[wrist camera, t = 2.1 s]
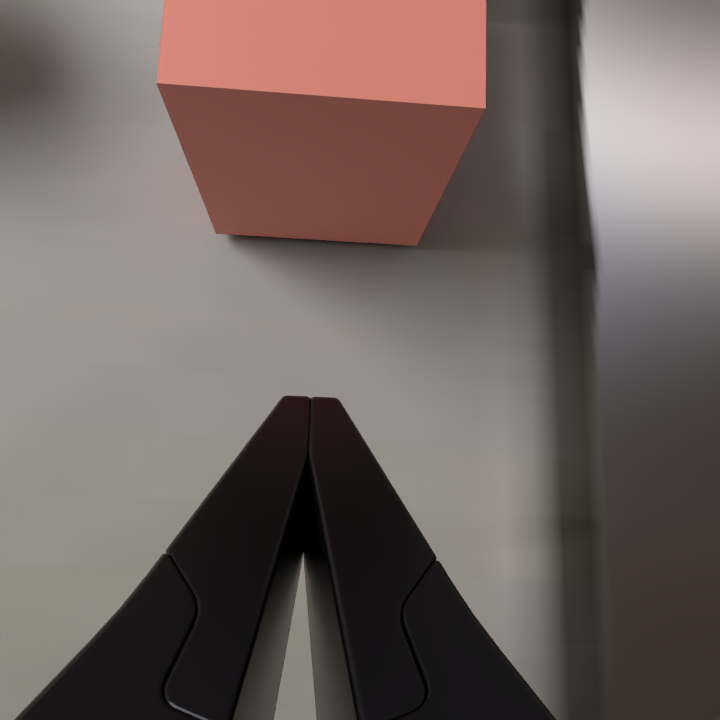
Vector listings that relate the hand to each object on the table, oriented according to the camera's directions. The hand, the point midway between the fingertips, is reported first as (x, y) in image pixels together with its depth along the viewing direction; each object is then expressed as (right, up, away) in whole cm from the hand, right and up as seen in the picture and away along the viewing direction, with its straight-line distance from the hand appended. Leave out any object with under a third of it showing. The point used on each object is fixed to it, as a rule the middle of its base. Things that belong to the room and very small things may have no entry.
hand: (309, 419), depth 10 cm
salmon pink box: (-1, +10, +14) cm, 17 cm away
